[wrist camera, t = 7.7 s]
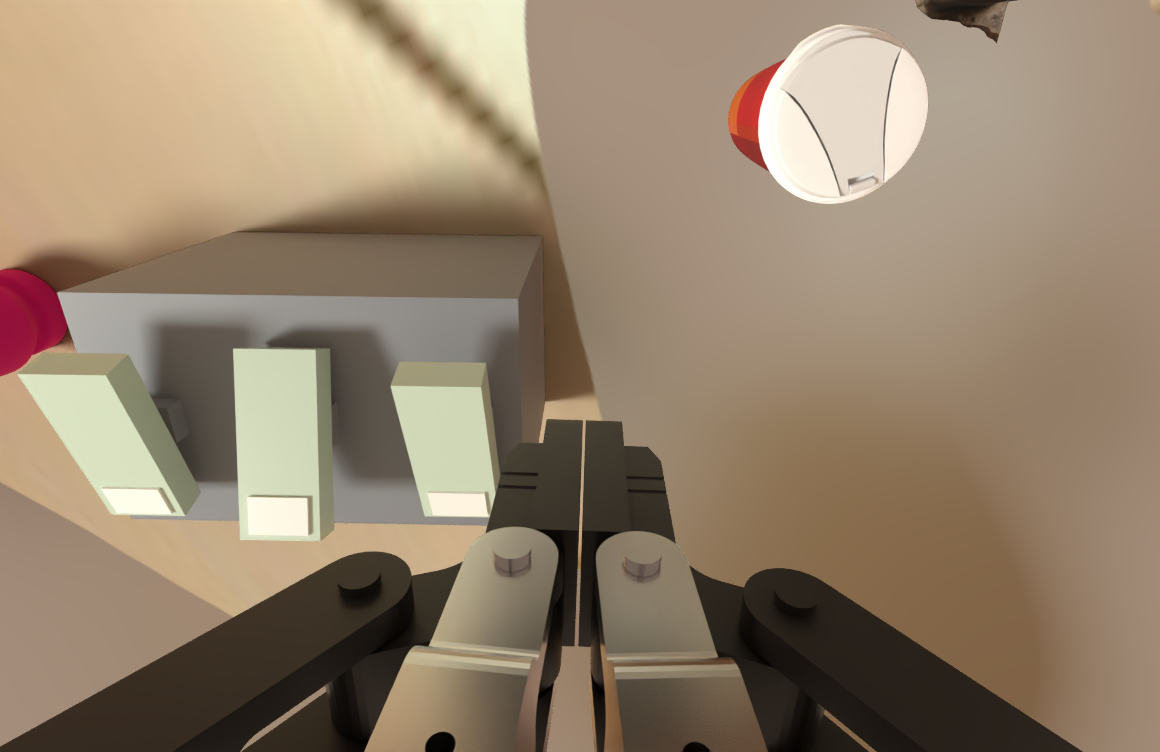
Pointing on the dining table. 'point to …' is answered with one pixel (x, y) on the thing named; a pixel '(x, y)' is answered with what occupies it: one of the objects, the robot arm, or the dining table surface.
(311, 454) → the block
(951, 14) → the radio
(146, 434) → the block
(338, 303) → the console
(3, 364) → the pepper mill
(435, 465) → the rocker
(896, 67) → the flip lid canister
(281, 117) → the dining table surface
